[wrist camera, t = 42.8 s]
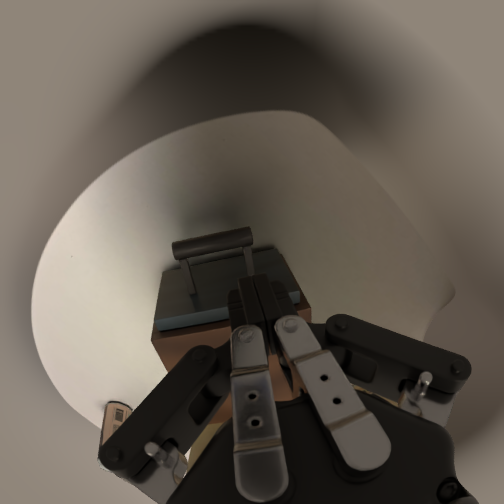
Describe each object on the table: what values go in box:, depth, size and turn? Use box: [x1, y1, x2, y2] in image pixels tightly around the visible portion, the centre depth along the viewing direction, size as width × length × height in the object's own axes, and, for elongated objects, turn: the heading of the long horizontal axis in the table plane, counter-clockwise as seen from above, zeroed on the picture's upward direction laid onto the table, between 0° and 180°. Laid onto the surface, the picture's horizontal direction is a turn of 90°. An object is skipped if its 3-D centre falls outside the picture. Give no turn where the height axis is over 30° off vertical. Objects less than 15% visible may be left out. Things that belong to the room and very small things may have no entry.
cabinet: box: [151, 254, 311, 425], centre depth 28 cm, size 15×13×9 cm
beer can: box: [97, 403, 132, 473], centre depth 32 cm, size 5×5×12 cm
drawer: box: [154, 226, 300, 331], centre depth 26 cm, size 18×11×7 cm, turn 8°
